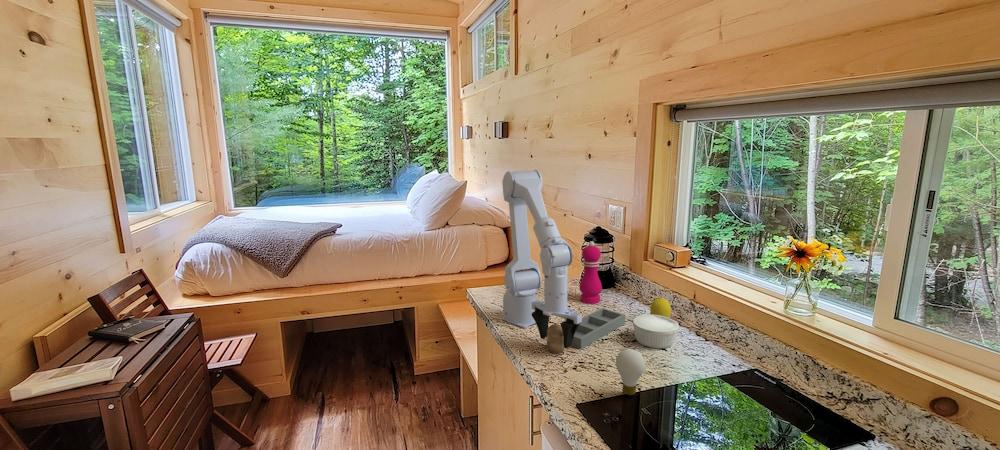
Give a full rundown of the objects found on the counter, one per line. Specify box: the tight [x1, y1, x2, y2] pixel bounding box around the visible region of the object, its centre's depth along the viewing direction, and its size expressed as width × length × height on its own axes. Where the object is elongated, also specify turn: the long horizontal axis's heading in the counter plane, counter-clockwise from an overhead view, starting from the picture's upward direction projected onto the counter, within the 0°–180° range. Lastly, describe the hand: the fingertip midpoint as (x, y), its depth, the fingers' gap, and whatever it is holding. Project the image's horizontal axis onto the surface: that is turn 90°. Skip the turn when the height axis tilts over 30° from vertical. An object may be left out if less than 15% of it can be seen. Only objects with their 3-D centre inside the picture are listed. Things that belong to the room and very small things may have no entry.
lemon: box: [649, 296, 672, 319], centre depth 128 cm, size 6×6×8 cm
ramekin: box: [632, 314, 680, 349], centre depth 118 cm, size 11×11×5 cm
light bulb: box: [615, 348, 646, 396], centre depth 94 cm, size 6×6×10 cm
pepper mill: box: [578, 240, 603, 305], centre depth 146 cm, size 7×7×20 cm
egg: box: [546, 323, 565, 354], centre depth 114 cm, size 4×4×7 cm
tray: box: [570, 307, 626, 350], centre depth 124 cm, size 8×21×3 cm, turn 134°
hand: (555, 342), depth 115 cm, fingers open, 7 cm apart
